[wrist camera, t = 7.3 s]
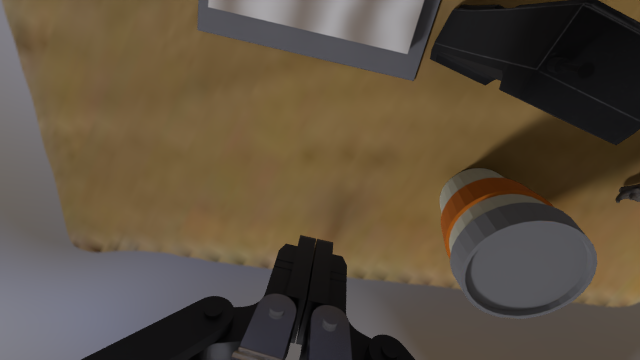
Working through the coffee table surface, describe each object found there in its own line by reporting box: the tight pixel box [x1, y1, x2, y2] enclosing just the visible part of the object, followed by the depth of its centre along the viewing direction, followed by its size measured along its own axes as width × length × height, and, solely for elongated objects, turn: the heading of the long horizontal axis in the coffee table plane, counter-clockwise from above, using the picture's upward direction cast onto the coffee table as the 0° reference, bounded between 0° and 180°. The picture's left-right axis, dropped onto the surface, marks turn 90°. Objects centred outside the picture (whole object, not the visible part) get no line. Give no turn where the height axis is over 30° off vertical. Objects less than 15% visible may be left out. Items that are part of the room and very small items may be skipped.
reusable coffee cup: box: [440, 168, 597, 319], centre depth 37 cm, size 13×13×15 cm
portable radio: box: [430, 0, 640, 145], centre depth 25 cm, size 8×6×25 cm
